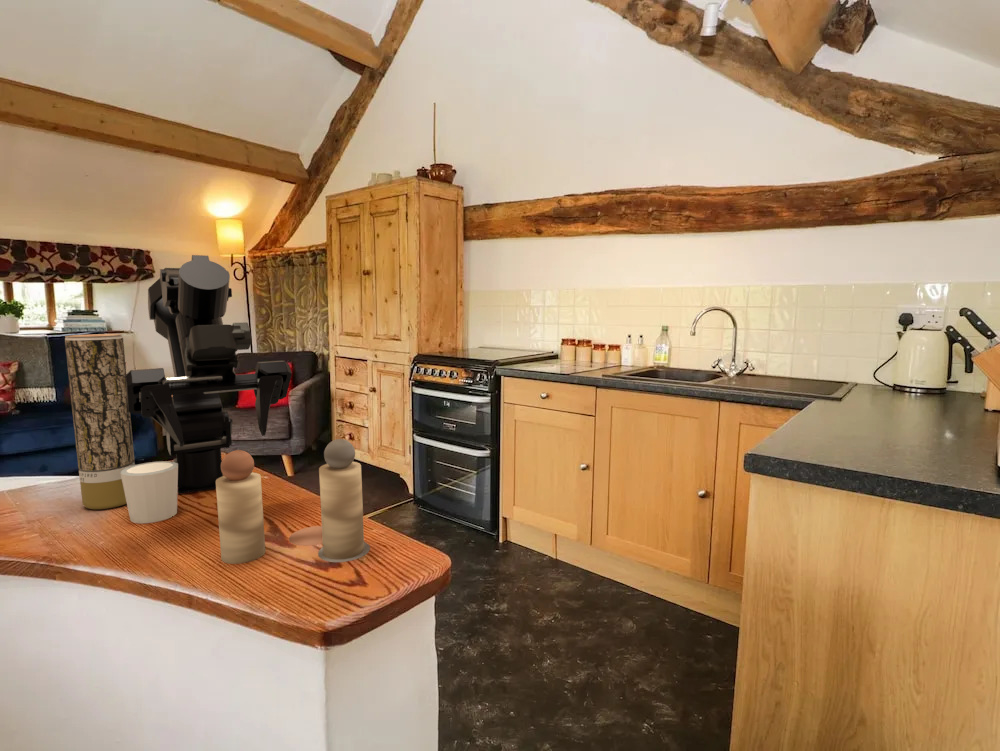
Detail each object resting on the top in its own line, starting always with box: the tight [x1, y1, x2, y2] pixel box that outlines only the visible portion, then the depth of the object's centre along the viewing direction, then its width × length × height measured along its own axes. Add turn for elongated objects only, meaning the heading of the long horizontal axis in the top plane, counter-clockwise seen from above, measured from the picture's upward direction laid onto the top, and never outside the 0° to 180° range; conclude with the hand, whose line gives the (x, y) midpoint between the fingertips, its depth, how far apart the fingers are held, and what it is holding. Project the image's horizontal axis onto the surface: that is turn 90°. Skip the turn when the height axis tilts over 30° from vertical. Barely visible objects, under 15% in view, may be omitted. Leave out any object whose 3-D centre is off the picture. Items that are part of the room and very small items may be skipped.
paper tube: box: [64, 333, 136, 510], centre depth 82 cm, size 7×7×25 cm
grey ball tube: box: [318, 438, 365, 560], centre depth 64 cm, size 5×5×13 cm
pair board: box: [288, 525, 371, 563], centre depth 67 cm, size 13×7×1 cm, turn 49°
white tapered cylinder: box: [120, 460, 178, 524], centre depth 78 cm, size 7×7×7 cm
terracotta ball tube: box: [215, 449, 266, 565], centre depth 63 cm, size 5×5×13 cm
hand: (224, 439), depth 69 cm, fingers open, 9 cm apart
